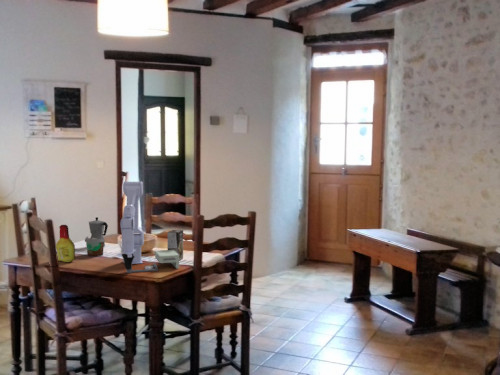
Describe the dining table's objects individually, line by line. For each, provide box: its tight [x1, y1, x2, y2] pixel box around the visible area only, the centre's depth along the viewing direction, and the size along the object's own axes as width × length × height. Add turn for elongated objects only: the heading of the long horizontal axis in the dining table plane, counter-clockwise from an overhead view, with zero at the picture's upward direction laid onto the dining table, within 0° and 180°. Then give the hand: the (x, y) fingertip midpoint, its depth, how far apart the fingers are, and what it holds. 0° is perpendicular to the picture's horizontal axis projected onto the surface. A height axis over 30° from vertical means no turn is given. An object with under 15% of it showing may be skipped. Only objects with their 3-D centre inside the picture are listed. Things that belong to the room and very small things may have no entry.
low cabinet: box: [154, 249, 180, 269], centre depth 298 cm, size 10×15×7 cm
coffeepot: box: [88, 217, 109, 247], centre depth 345 cm, size 15×9×18 cm, turn 59°
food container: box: [84, 236, 106, 257], centre depth 321 cm, size 12×6×10 cm, turn 68°
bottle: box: [55, 224, 76, 263], centre depth 305 cm, size 12×6×20 cm, turn 60°
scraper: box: [126, 262, 159, 274], centre depth 290 cm, size 15×11×6 cm
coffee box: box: [167, 229, 184, 262], centre depth 312 cm, size 9×6×16 cm
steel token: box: [144, 265, 155, 270], centre depth 293 cm, size 5×5×1 cm
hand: (128, 268), depth 284 cm, fingers closed on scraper, 2 cm apart
